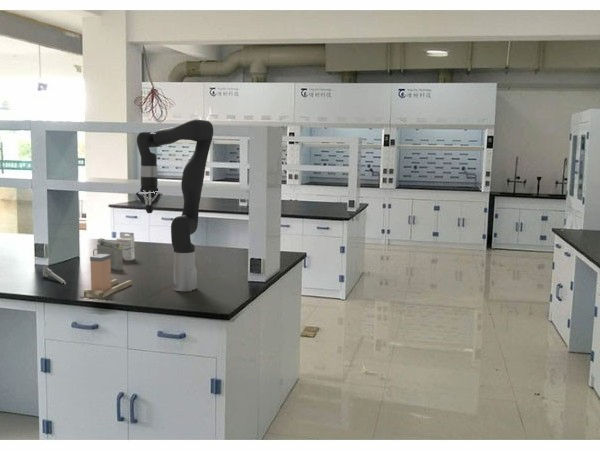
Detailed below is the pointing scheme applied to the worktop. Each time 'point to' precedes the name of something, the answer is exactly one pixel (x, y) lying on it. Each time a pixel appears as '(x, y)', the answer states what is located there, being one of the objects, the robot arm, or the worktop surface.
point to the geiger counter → (111, 252)
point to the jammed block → (100, 272)
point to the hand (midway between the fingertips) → (149, 213)
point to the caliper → (51, 274)
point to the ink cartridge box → (127, 245)
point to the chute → (102, 293)
